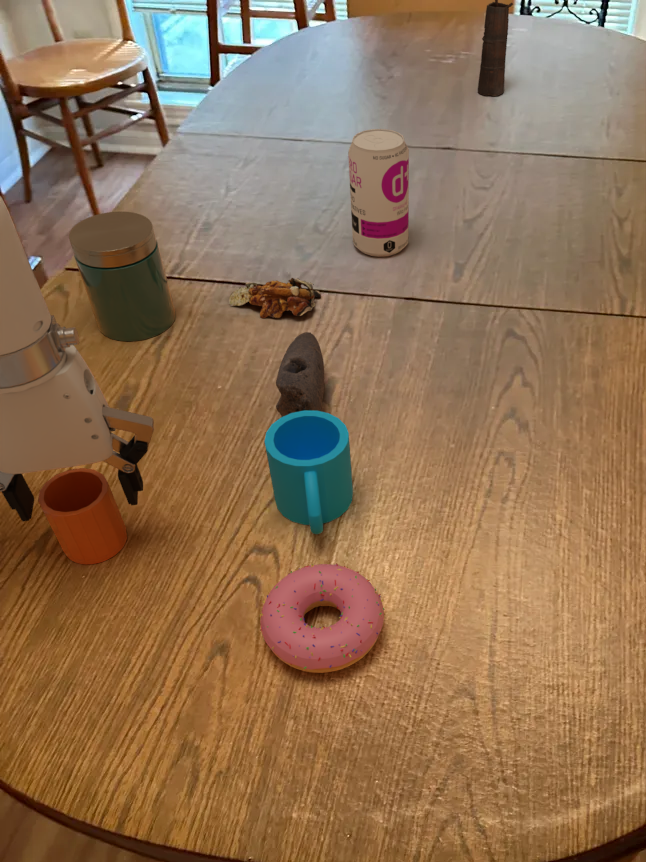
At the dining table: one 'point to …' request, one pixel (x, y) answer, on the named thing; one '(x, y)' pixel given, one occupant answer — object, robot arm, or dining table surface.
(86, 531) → the cup
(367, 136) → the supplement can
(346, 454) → the mug
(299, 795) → the dining table surface
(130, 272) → the jar
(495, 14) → the butter churn
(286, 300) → the brown lumpy piece
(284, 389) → the perforated stone tool
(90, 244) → the jar lid
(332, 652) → the doughnut
